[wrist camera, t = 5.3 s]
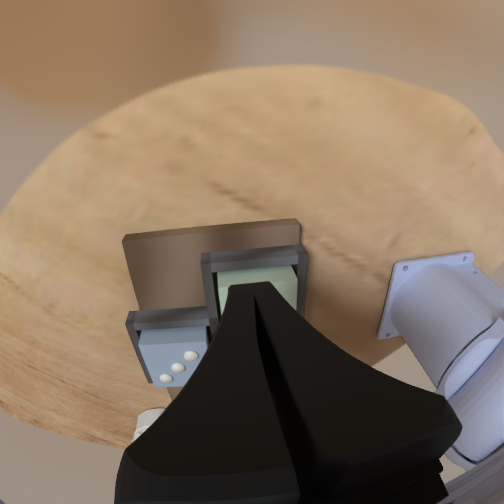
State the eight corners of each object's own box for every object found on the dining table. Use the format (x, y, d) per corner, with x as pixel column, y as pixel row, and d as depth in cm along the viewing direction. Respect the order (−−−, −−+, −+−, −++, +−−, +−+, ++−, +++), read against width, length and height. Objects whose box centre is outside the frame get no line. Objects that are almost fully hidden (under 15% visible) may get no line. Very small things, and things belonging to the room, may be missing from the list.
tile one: (287, 258, 20) (298, 281, 17) (286, 313, 22) (295, 339, 19) (216, 265, 19) (218, 289, 17) (223, 320, 21) (225, 347, 19)
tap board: (298, 218, 20) (308, 233, 18) (290, 386, 27) (295, 406, 25) (113, 235, 19) (102, 252, 16) (166, 398, 26) (164, 417, 24)
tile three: (205, 316, 21) (205, 343, 19) (213, 360, 23) (214, 386, 21) (143, 320, 21) (137, 347, 18) (158, 363, 23) (154, 389, 20)
